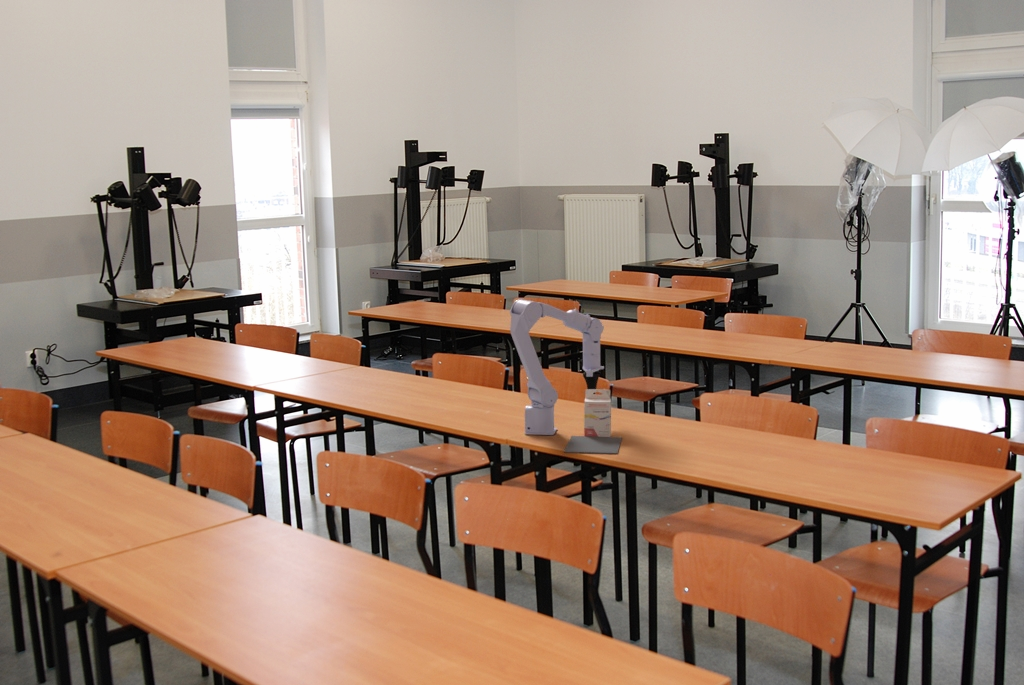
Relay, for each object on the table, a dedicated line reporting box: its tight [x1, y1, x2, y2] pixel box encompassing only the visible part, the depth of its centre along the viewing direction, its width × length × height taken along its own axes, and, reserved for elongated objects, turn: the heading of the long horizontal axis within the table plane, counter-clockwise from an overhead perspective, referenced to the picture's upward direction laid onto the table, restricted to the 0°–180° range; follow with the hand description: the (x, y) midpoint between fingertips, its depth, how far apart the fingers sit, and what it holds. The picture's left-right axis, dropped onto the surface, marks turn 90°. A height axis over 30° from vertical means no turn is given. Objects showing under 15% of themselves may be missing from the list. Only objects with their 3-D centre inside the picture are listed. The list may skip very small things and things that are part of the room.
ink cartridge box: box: [583, 388, 612, 437], centre depth 314 cm, size 9×5×15 cm, turn 84°
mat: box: [563, 435, 623, 455], centre depth 303 cm, size 16×18×1 cm
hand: (592, 393), depth 327 cm, fingers closed
